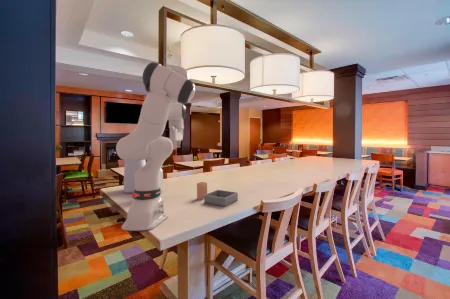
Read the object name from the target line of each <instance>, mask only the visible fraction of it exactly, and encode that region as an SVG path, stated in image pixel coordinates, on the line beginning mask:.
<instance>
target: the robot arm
mask: <svg viewBox="0 0 450 299" xmlns="http://www.w3.org/2000/svg"><path fill="white" fill-rule="evenodd" d="M142 83H143V85H144V90H145V91H146V92H147V95H146V97H145V98H144V100H143V102H142V105H141V109H140V115H139V118H138V122H137V125H136V127H135V128H134V129H133V130H132V131H131V132H130V133H129V134H127V135H125V136H124V137H121V138H120V139H119V140H118V141H117V143H116V146H115V151H116V155H117V156H118V157H119V158H120V159H121V160H123V161H125V160H132V161H134V160H146V164H145V166H143V167H142V168H140V169H138V170H137V171H136V173H135V190H134V193H131V198H133V200H132V201H131V204H130V206H129V209H128V210H127V215H126V216H127V217H126V219H125V221H124V222H123V224H122V225H121V227H120V228H121V230H124V231H133V232H134V231H136V232H137V231H149V230H152V229H155V228H156V227H157V226H159V225H161V223H163V222H164V221H165V220H166V219H167V218H169V215H168V214H167V213H166V212H165V211H166V210H165V201H164V198H162V196H161V195H162V194H161V193H162V192H161V190H160V187H159V177H160V169H162V166H163V164H164V162H165V161H166V160H167V159H168V158H169V157H170V156H171V155H172V153H173V151H174V149H177V148H179V149H180V148H181V142H182V141H183V138H184V129H185V125H184V119H185V118H186V117H187V110H186V109H187V107H186V104H188V103H189V104H190V101H191V100H192V99H193V98H194V97H195V92H196V85H195V83H194V82H193V81H192V80H191V79H190V75H189V73H188V71H187V69H186V68H184V67H182V66H180V65H179V66H178V65H177V66H173V67H171V68H170V67H167V66H164V65H162V64H161V63H158V62H154V61H153V62H152V61H151V62H150V63H148V64H147V65H146V66H145V68H144V69H143V73H142ZM167 122H168V128H169V137H165V136H163V134H164V133H165V132H164V131H165V128H166V125H167Z"/></svg>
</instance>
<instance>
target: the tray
mask: <svg viewBox="0 0 450 299" xmlns="http://www.w3.org/2000/svg"><path fill="white" fill-rule="evenodd" d="M238 193H239V192H236V191H230V190H223V189H216V190H213V191H210V192H207V194H206V195H204V199H203V201H204V202H203V203H204V204H210V205H215V206H220V207H228V206H229V205H231V204H233V203H235V202H237V201H239V198H238V197H239V196H238V195H239V194H238Z"/></svg>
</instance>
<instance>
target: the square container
mask: <svg viewBox="0 0 450 299" xmlns="http://www.w3.org/2000/svg"><path fill="white" fill-rule="evenodd" d="M206 194H208V183H207V182H203V181H200V182H197V183H196V199H197V200H202V201H204V195H206Z"/></svg>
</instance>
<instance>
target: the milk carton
mask: <svg viewBox="0 0 450 299" xmlns="http://www.w3.org/2000/svg"><path fill="white" fill-rule="evenodd" d="M159 187H160V190H161V193H163V192H164V170H163V168H161V169H160V177H159Z"/></svg>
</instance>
